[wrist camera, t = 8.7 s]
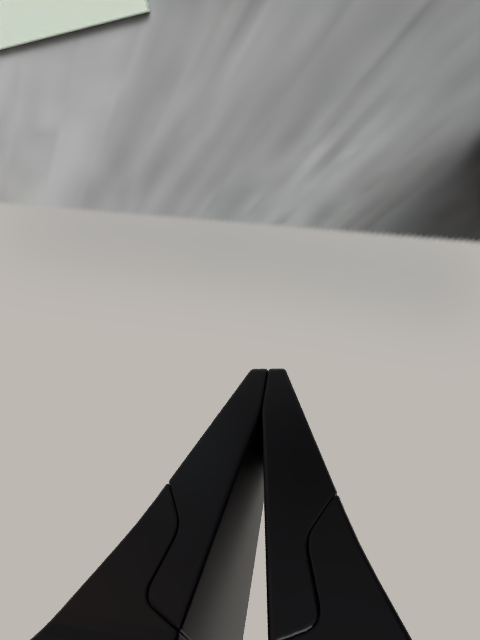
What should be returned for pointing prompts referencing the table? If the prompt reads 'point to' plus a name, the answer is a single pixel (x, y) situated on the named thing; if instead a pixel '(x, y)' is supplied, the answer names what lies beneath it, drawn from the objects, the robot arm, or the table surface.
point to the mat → (59, 17)
